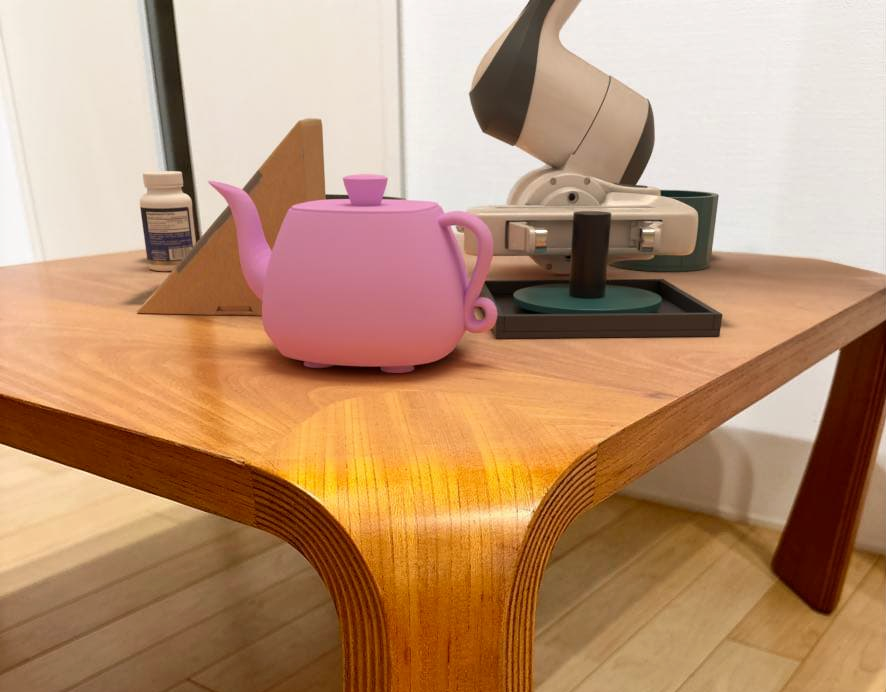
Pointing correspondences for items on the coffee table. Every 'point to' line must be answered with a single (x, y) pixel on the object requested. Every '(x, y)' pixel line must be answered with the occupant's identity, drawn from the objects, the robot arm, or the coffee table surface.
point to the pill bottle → (166, 220)
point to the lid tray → (670, 320)
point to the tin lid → (587, 278)
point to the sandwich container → (216, 253)
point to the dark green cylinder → (703, 248)
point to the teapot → (364, 277)
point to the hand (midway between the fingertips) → (595, 241)
